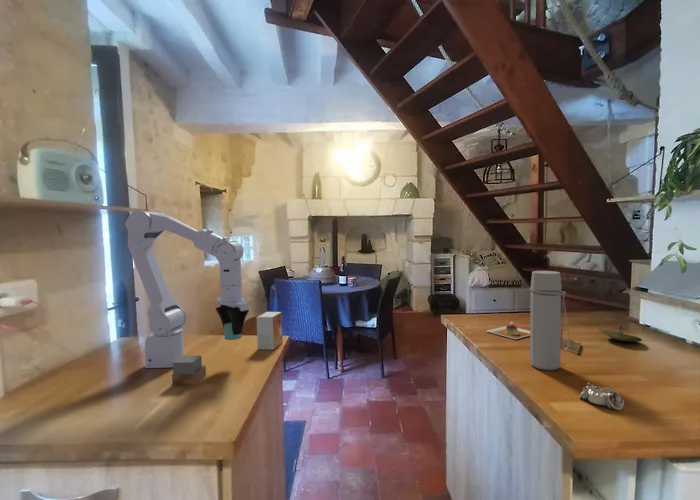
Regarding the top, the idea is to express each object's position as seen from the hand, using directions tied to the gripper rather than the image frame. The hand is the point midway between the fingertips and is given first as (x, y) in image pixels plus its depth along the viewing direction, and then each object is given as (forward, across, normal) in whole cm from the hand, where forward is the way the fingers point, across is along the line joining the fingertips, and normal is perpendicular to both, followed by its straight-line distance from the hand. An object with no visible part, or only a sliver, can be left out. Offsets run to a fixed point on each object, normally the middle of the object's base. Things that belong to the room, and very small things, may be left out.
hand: (232, 332), depth 107 cm
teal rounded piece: (+2, 0, 0) cm, 2 cm away
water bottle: (+9, -66, -54) cm, 86 cm away
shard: (+10, -66, -76) cm, 101 cm away
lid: (+9, -75, -91) cm, 119 cm away
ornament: (+9, -80, -40) cm, 91 cm away
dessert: (+10, -46, -80) cm, 92 cm away
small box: (+9, +6, -16) cm, 20 cm away
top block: (+6, -2, +14) cm, 15 cm away
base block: (+9, -2, +14) cm, 17 cm away
